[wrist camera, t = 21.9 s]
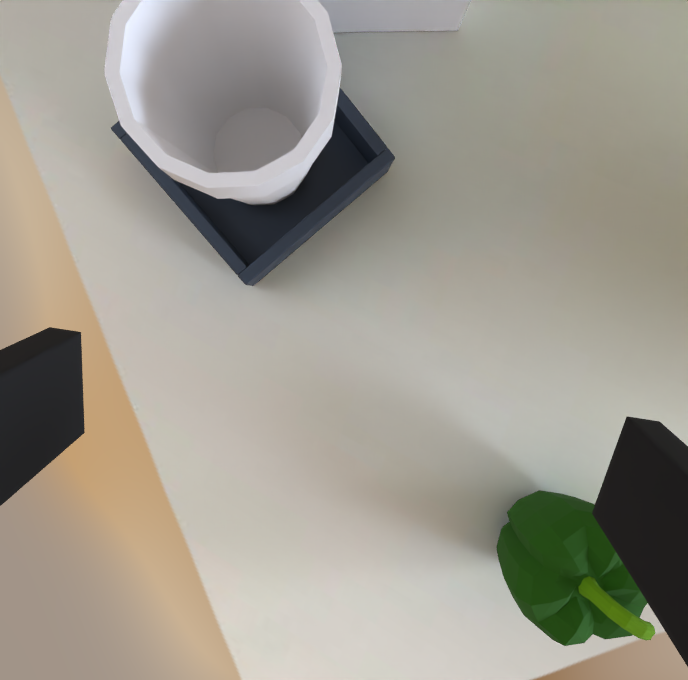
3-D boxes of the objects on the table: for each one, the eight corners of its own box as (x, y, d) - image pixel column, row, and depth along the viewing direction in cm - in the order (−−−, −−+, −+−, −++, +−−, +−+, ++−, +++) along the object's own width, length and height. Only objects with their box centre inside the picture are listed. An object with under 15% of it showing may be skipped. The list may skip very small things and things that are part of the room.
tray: (387, 171, 34) (395, 157, 30) (253, 286, 34) (245, 285, 31) (271, 25, 33) (265, -7, 29) (132, 145, 33) (110, 127, 29)
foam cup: (360, 166, 33) (387, 85, 20) (257, 258, 34) (220, 236, 21) (264, 52, 32) (228, -109, 19) (159, 148, 33) (54, 52, 20)
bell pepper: (457, 520, 36) (511, 605, 27) (548, 453, 36) (635, 513, 26) (522, 604, 37) (596, 717, 27) (610, 539, 37) (716, 628, 27)
